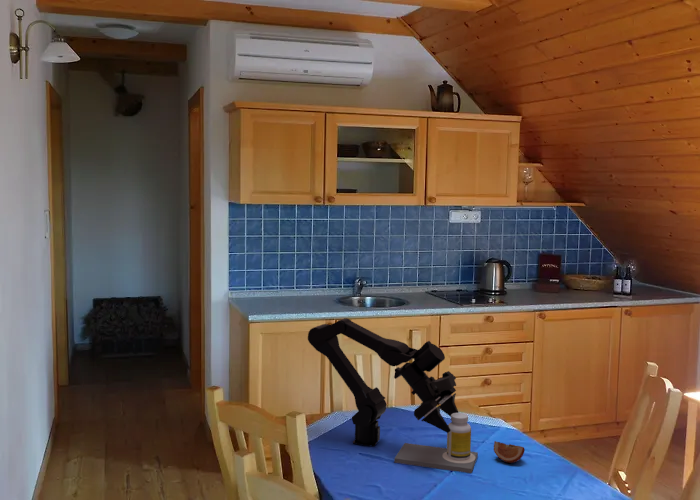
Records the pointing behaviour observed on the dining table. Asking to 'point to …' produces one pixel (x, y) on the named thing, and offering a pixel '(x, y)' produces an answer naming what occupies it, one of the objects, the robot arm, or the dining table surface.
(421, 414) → the robot arm
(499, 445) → the fruit slice
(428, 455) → the panel board
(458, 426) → the pill bottle
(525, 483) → the dining table surface
